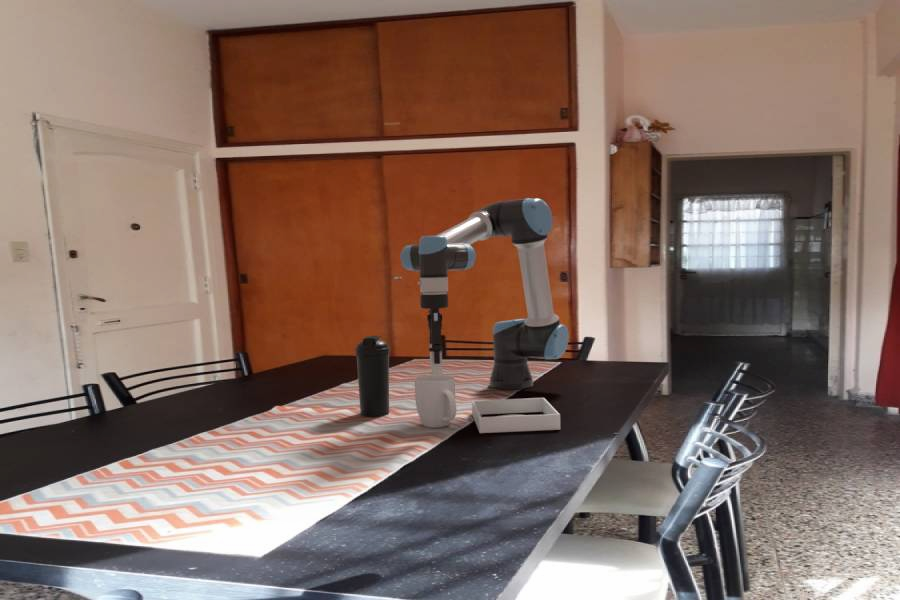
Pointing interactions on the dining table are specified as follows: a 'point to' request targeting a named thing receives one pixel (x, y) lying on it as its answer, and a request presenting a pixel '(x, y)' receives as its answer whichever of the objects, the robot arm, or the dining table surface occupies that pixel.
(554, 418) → the white shallow tray
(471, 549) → the dining table surface
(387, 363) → the water bottle
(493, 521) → the dining table surface
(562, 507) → the dining table surface
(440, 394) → the mug
